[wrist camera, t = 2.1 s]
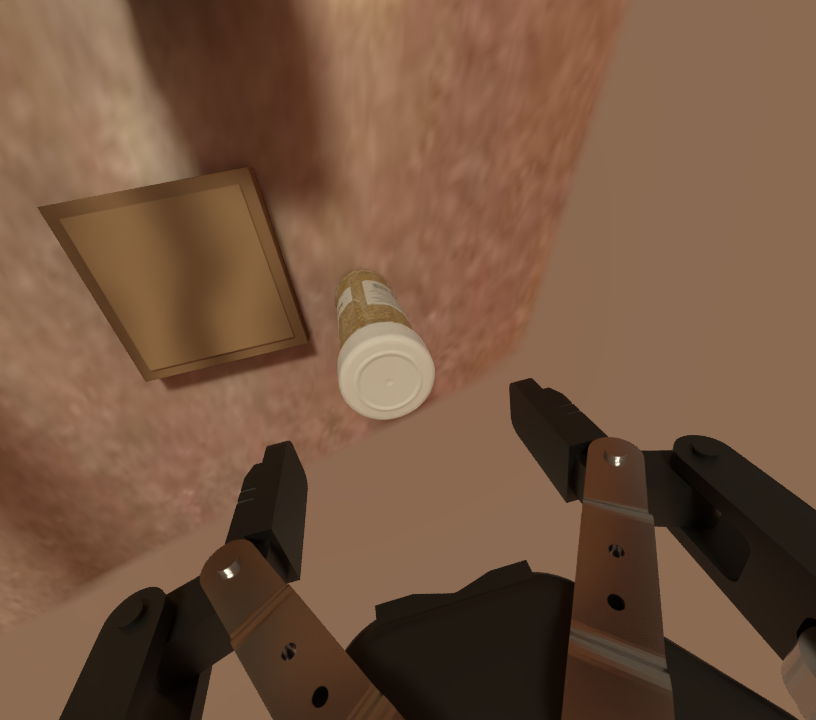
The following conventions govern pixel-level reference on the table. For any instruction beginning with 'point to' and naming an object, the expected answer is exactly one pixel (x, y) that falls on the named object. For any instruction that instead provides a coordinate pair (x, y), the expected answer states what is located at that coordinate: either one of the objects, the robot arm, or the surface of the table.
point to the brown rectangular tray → (184, 271)
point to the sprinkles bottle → (379, 350)
